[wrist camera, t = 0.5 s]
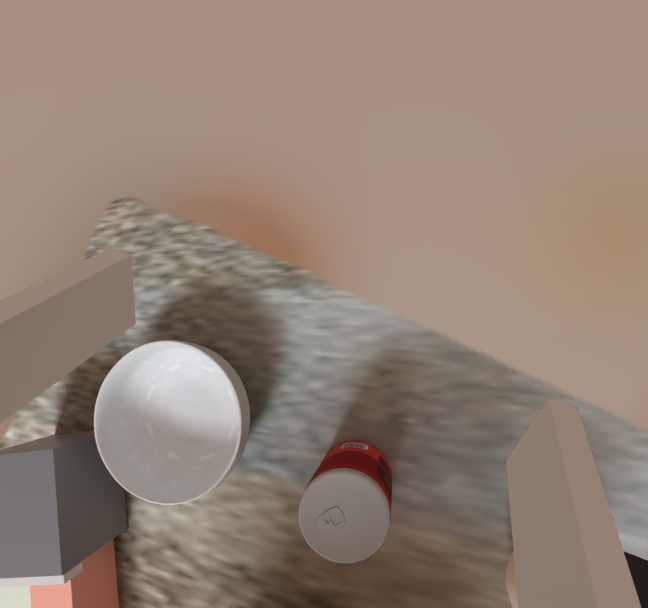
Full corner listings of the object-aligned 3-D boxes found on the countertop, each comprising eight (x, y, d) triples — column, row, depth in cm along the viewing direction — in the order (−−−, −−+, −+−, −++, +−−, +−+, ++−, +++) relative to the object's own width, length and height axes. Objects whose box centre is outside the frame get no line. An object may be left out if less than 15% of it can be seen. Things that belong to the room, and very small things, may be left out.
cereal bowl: (292, 404, 48) (275, 416, 41) (203, 512, 48) (171, 542, 41) (190, 311, 51) (157, 307, 44) (108, 414, 52) (63, 426, 45)
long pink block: (125, 659, 49) (80, 712, 42) (87, 660, 50) (38, 712, 43) (110, 486, 51) (65, 509, 44) (74, 489, 52) (24, 512, 45)
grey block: (130, 535, 50) (64, 584, 40) (60, 539, 51) (-20, 588, 41) (120, 426, 51) (54, 448, 41) (53, 434, 53) (-26, 457, 43)
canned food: (307, 468, 47) (279, 508, 36) (360, 423, 46) (349, 450, 35) (351, 525, 45) (336, 584, 35) (407, 480, 45) (409, 526, 34)
